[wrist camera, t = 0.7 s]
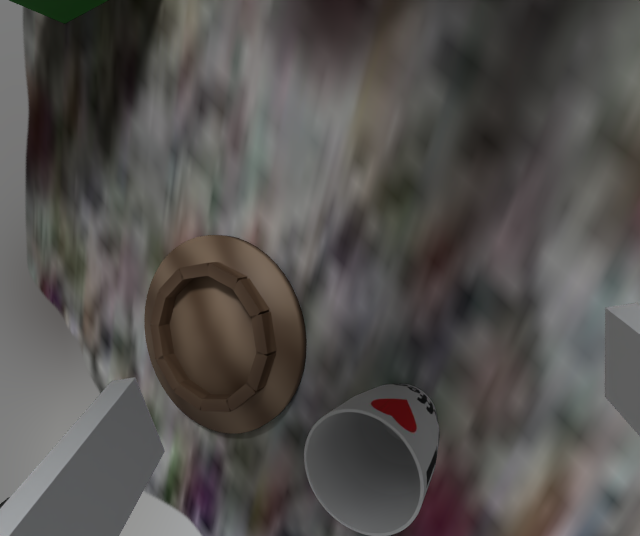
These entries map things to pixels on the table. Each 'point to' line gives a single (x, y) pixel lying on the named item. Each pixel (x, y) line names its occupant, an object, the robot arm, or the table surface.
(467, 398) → the table surface
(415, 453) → the cup
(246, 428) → the round tray
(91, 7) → the hardback book
